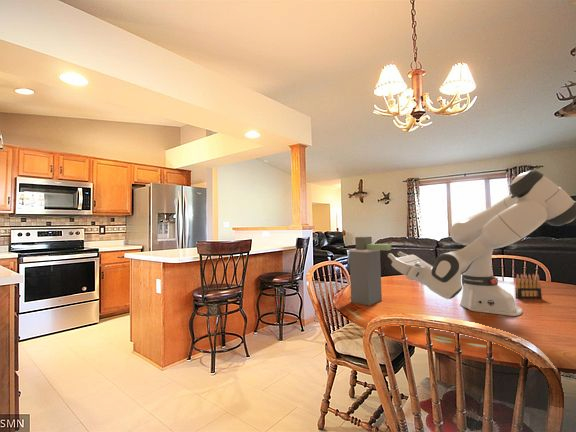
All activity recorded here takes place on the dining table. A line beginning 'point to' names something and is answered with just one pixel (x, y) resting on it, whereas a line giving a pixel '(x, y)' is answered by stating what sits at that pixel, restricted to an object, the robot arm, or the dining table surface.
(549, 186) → the robot arm
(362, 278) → the stand
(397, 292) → the dining table surface
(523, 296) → the ammunition clip
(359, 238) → the green l-shaped block
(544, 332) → the dining table surface
